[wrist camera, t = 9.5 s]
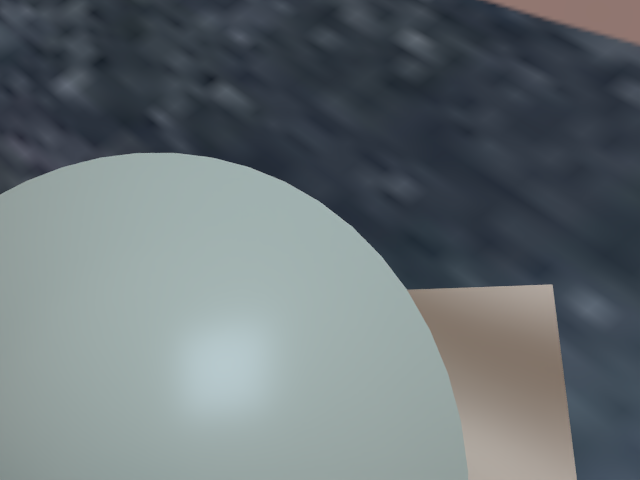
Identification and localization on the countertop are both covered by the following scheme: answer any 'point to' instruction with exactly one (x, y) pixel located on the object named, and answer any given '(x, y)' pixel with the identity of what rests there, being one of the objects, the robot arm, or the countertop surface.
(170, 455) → the light bulb
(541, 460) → the mounting board
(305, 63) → the countertop surface
